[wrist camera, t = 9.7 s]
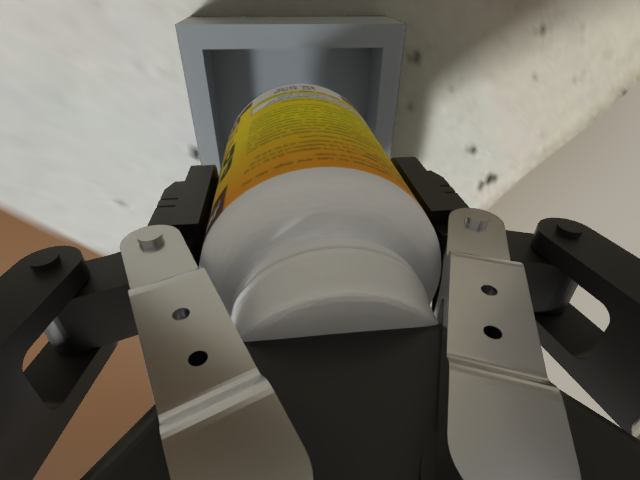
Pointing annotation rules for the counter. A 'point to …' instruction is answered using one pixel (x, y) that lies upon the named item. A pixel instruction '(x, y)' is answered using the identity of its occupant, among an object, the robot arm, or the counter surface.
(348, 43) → the bin
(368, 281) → the supplement bottle
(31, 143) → the counter surface
